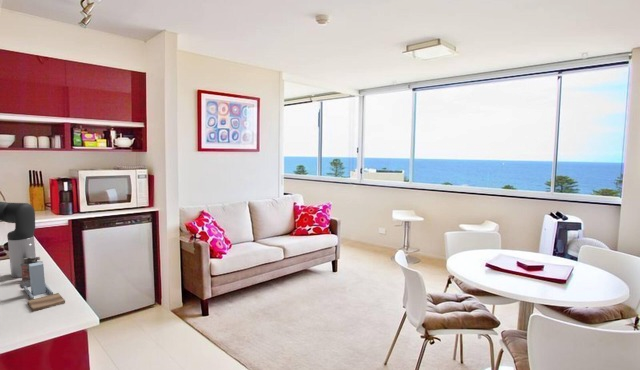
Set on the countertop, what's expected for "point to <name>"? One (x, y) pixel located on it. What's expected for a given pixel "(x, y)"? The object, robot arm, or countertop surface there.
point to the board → (46, 302)
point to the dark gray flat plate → (25, 284)
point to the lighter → (26, 267)
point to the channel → (32, 295)
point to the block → (37, 278)
